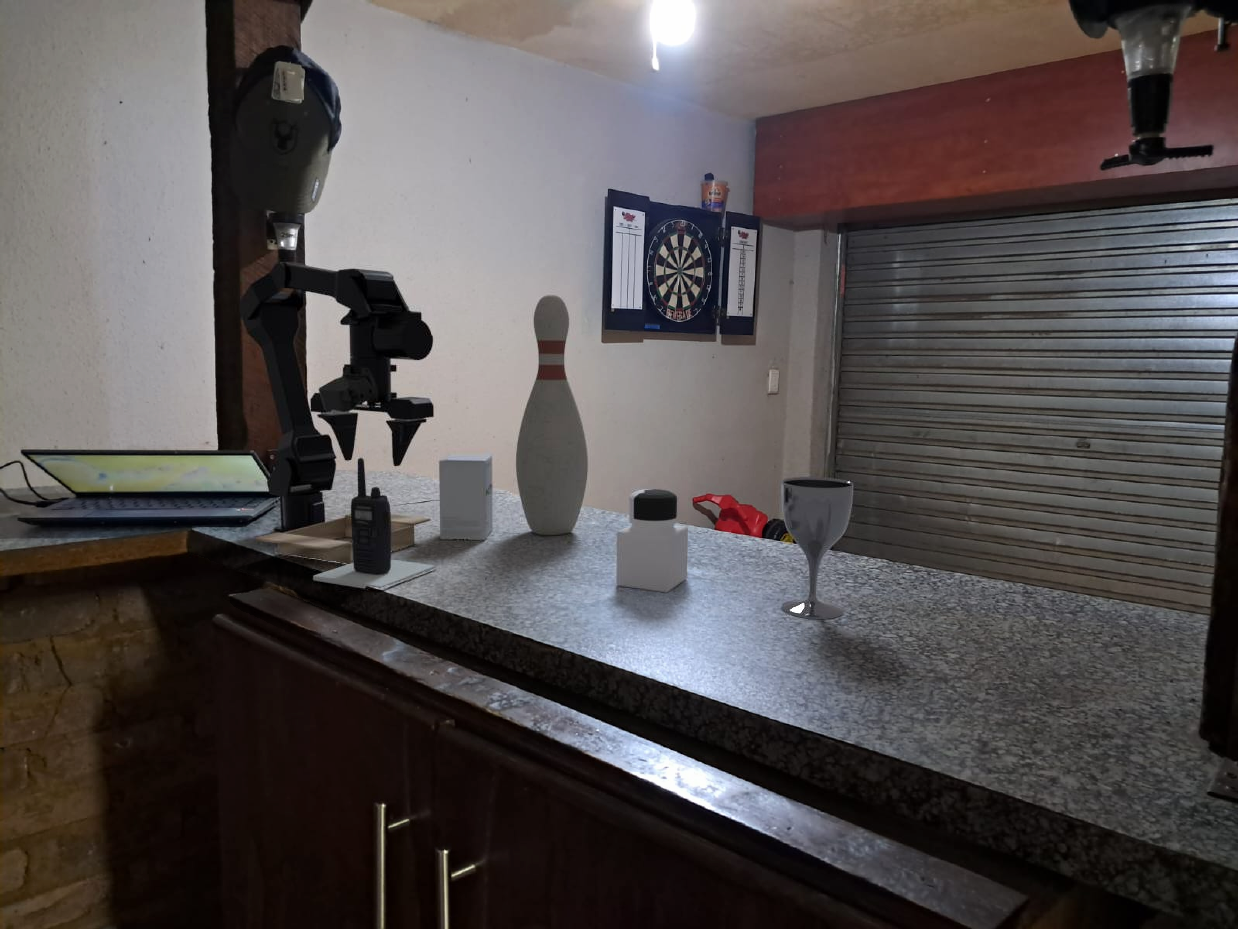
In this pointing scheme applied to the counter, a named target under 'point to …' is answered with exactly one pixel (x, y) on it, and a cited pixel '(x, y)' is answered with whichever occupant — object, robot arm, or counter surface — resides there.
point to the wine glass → (815, 531)
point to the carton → (321, 537)
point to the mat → (373, 575)
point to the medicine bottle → (652, 543)
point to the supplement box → (466, 497)
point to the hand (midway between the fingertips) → (372, 463)
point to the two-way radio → (370, 528)
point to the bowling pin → (551, 433)
